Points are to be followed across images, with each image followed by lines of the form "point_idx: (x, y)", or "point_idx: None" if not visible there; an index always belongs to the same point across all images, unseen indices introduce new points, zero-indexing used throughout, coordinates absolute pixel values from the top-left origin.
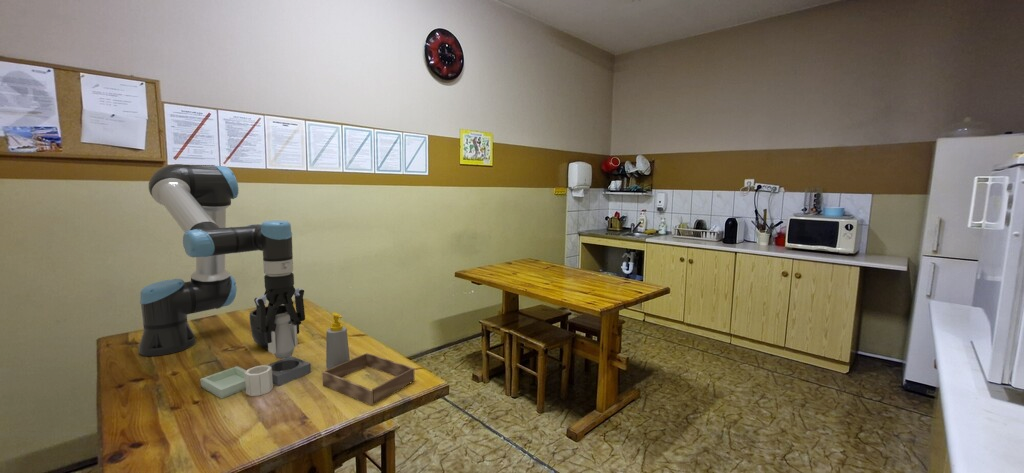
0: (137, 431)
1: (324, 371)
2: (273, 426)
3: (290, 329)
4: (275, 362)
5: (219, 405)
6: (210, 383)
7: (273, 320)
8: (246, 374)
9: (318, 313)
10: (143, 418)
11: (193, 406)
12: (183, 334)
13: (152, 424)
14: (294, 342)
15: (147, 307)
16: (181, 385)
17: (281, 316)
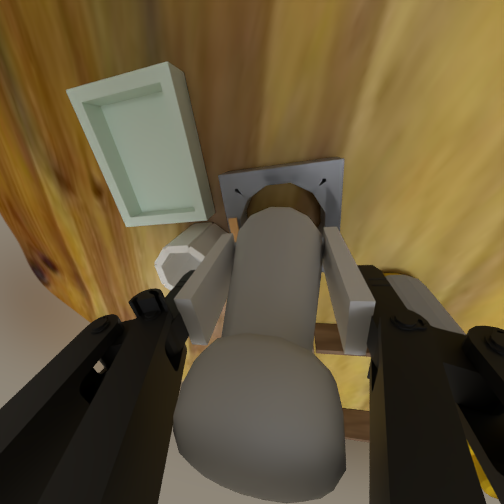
0: (34, 226)
1: (313, 351)
2: (197, 353)
3: (339, 287)
4: (273, 173)
5: (138, 243)
6: (100, 162)
7: (161, 441)
8: (158, 272)
9: None
10: (22, 182)
11: (96, 207)
12: None
13: (47, 220)
14: (324, 271)
15: None
16: (34, 16)
17: (228, 487)
